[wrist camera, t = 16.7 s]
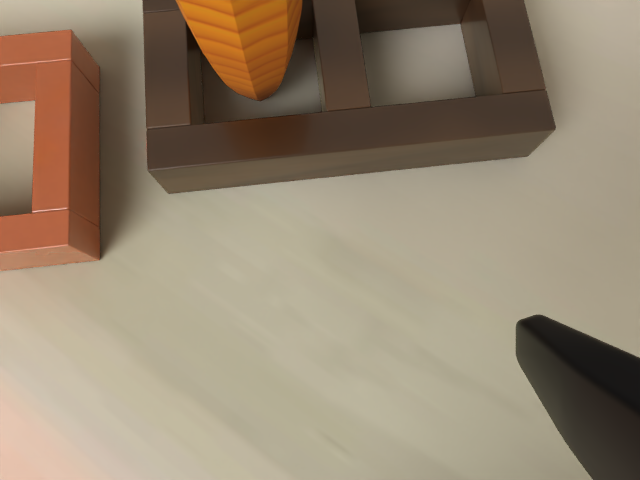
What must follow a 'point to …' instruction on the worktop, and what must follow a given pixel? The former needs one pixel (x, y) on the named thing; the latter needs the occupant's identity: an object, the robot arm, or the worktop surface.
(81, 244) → the frame
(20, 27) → the worktop surface
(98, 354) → the worktop surface
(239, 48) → the carrot
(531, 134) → the rack
